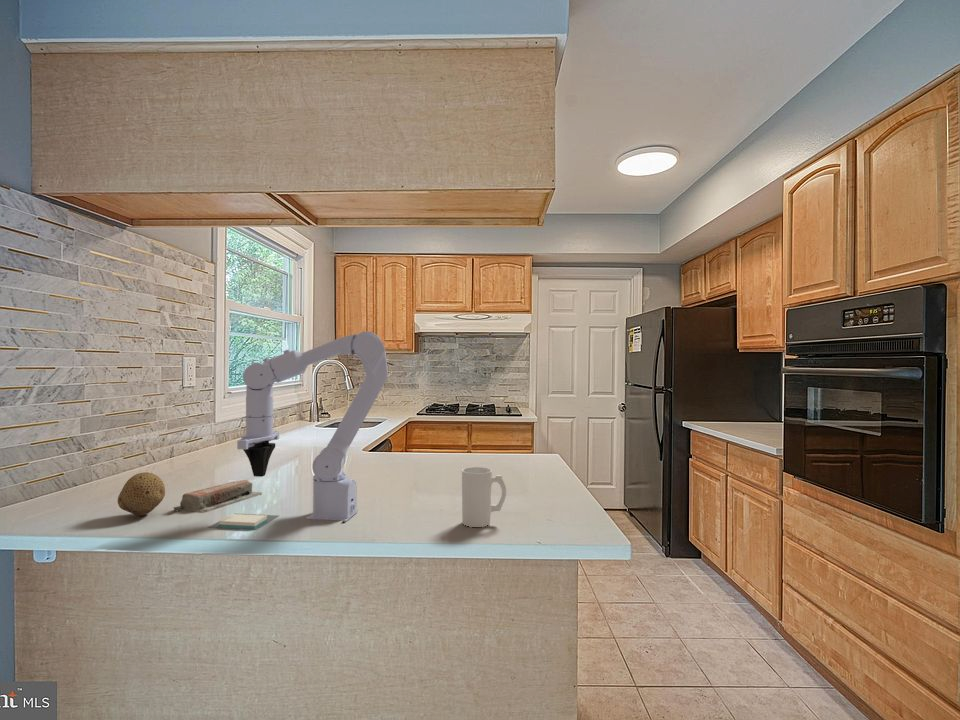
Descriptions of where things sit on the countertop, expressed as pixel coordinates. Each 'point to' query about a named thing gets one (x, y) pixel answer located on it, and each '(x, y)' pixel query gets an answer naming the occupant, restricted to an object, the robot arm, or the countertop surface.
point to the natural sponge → (141, 494)
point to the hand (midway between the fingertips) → (259, 475)
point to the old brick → (217, 496)
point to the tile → (243, 521)
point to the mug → (479, 496)
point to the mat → (269, 519)
